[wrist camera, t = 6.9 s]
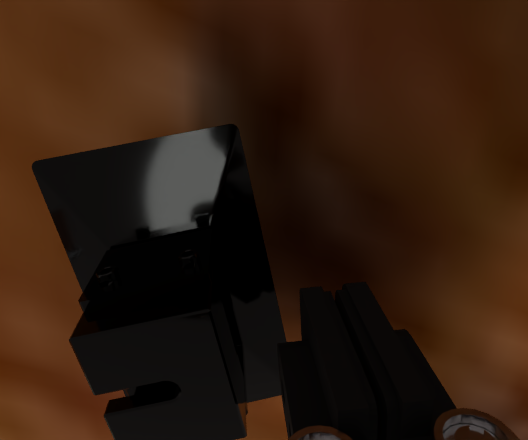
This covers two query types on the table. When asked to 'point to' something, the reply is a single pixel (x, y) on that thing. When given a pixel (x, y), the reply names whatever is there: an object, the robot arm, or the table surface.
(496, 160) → the table surface
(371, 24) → the table surface
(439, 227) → the table surface
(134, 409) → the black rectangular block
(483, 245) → the table surface
